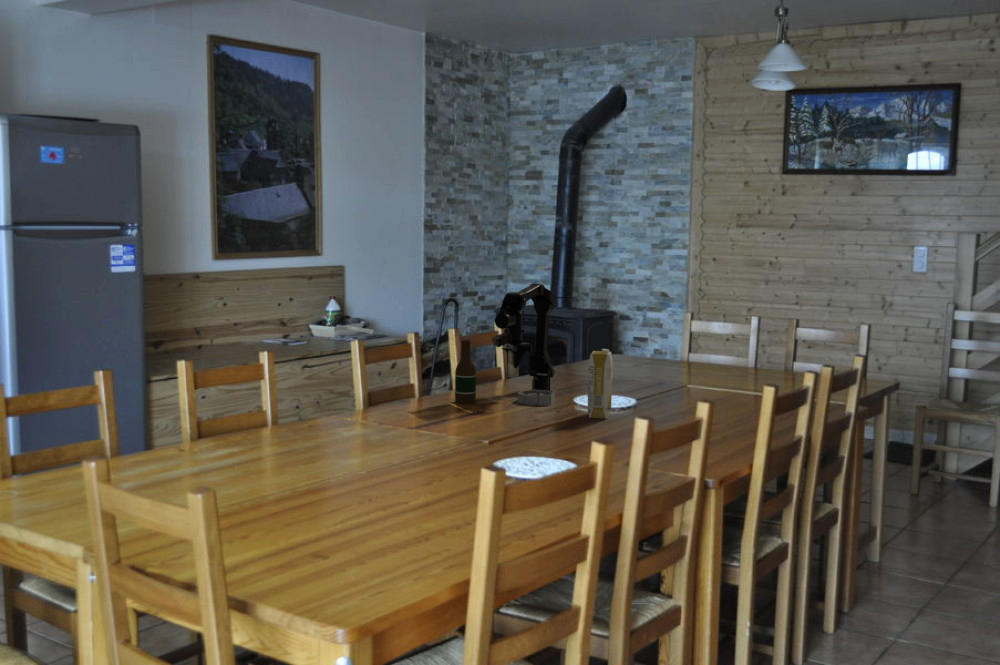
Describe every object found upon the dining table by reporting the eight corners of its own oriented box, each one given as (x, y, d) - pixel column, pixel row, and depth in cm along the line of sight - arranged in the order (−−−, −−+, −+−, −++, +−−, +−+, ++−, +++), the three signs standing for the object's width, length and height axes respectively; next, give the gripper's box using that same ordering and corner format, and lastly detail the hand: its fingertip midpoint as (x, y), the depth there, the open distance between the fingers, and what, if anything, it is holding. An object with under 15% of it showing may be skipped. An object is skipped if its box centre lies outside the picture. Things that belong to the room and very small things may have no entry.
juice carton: (609, 419, 342) (611, 351, 339) (586, 418, 344) (588, 350, 341) (611, 414, 351) (613, 347, 349) (589, 413, 353) (591, 346, 350)
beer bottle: (476, 402, 371) (477, 338, 368) (474, 406, 363) (475, 341, 360) (456, 401, 371) (457, 338, 368) (453, 405, 364) (453, 340, 361)
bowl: (542, 399, 379) (542, 388, 378) (559, 405, 367) (559, 394, 367) (512, 401, 373) (512, 391, 373) (528, 407, 362) (529, 397, 361)
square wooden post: (515, 375, 375) (515, 349, 374) (518, 376, 372) (519, 350, 371) (508, 376, 373) (508, 349, 372) (511, 377, 371) (511, 350, 370)
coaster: (503, 396, 382) (503, 395, 382) (513, 400, 374) (513, 399, 374) (482, 398, 378) (482, 396, 378) (492, 402, 370) (492, 401, 370)
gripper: (484, 324, 375) (484, 365, 377) (505, 330, 359) (504, 372, 361) (511, 323, 380) (510, 363, 382) (532, 328, 363) (532, 370, 365)
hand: (513, 367), depth 372 cm, fingers closed on square wooden post, 3 cm apart
